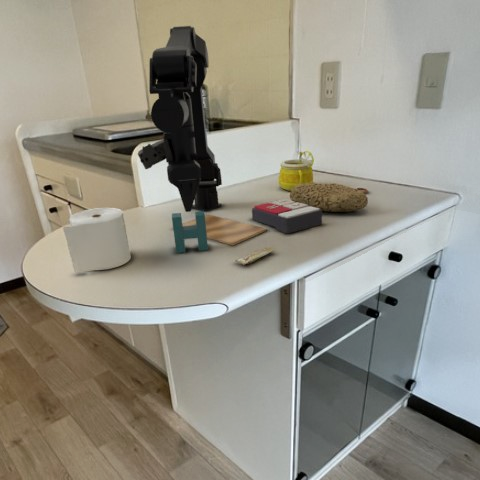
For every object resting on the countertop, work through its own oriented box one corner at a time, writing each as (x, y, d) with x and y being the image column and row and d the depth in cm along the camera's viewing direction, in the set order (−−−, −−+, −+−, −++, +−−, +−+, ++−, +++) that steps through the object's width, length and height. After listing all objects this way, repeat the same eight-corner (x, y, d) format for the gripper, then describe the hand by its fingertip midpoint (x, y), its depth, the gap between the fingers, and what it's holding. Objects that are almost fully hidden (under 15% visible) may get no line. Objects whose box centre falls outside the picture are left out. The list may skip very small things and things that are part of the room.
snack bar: (264, 247, 95) (274, 245, 93) (266, 254, 95) (276, 252, 93) (233, 260, 89) (243, 259, 87) (235, 267, 90) (245, 266, 87)
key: (349, 206, 121) (375, 193, 131) (350, 202, 121) (376, 190, 130) (331, 201, 125) (358, 189, 134) (332, 198, 124) (359, 186, 133)
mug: (275, 185, 144) (275, 146, 138) (308, 183, 145) (309, 144, 139) (283, 195, 133) (283, 153, 127) (318, 192, 134) (320, 151, 128)
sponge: (285, 212, 122) (340, 212, 107) (285, 183, 120) (341, 178, 105) (319, 211, 130) (374, 211, 114) (319, 183, 128) (376, 179, 112)
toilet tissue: (135, 250, 99) (127, 206, 94) (124, 272, 89) (115, 224, 84) (88, 252, 99) (78, 208, 94) (72, 274, 89) (59, 226, 84)
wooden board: (174, 228, 111) (174, 226, 110) (208, 216, 118) (208, 214, 118) (232, 245, 99) (232, 243, 99) (266, 230, 106) (266, 228, 106)
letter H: (176, 248, 99) (171, 213, 95) (207, 245, 100) (203, 210, 96) (176, 253, 96) (171, 217, 92) (208, 250, 97) (204, 214, 93)
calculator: (284, 197, 118) (322, 206, 106) (285, 213, 120) (322, 224, 108) (250, 205, 113) (286, 215, 101) (251, 221, 115) (287, 233, 103)
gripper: (139, 122, 92) (150, 197, 100) (133, 135, 76) (147, 222, 84) (192, 119, 93) (199, 193, 101) (197, 130, 77) (205, 217, 85)
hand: (187, 205), depth 93 cm, fingers open, 9 cm apart
